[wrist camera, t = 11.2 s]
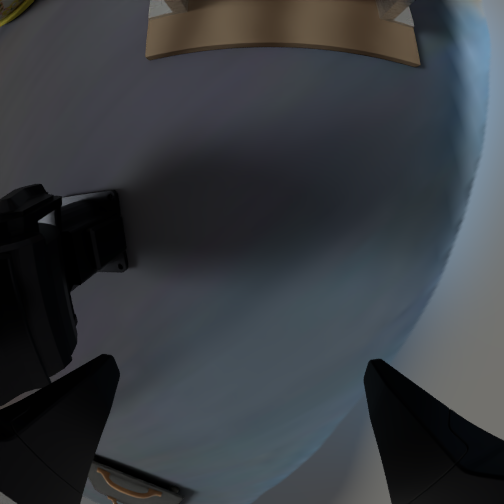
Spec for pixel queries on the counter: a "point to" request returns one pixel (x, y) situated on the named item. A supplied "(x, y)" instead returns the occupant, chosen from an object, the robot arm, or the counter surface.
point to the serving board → (129, 487)
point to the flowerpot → (12, 9)
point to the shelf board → (282, 28)
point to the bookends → (388, 3)
